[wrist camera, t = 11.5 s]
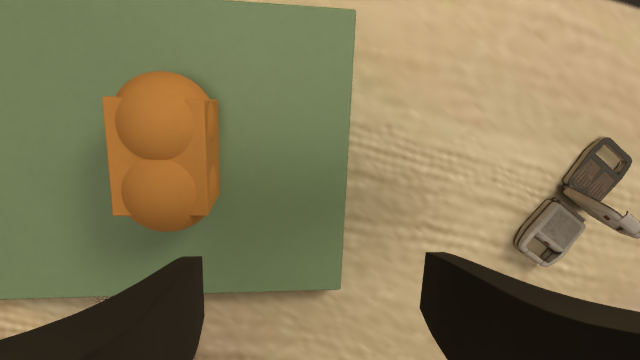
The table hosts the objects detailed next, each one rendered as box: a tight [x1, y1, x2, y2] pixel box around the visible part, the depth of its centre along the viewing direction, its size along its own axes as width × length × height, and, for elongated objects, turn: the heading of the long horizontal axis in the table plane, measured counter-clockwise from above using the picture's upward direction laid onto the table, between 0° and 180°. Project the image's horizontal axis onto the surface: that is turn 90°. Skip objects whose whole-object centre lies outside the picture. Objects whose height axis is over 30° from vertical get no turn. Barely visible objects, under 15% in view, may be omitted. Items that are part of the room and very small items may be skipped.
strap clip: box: [515, 137, 640, 267], centre depth 21 cm, size 8×3×4 cm, turn 143°
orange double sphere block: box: [102, 71, 220, 232], centre depth 16 cm, size 7×4×4 cm, turn 178°
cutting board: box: [0, 0, 356, 300], centre depth 18 cm, size 15×20×1 cm
